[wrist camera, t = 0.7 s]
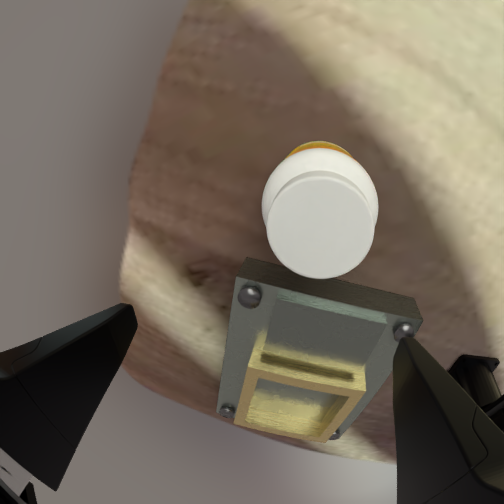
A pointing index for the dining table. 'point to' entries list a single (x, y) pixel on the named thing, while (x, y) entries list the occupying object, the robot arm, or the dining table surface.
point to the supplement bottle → (320, 211)
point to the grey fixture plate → (307, 350)
